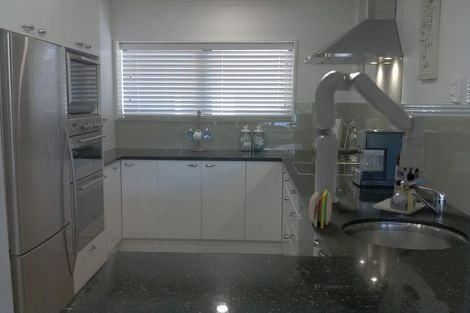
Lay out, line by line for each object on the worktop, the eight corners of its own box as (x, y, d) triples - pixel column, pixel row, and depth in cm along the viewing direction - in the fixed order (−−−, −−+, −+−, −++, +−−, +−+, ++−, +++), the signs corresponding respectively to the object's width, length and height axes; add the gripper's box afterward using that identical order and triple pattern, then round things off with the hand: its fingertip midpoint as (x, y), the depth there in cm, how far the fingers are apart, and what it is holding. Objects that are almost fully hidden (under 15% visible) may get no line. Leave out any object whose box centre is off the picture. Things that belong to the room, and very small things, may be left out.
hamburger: (310, 218, 171) (312, 188, 170) (331, 220, 169) (333, 190, 167) (306, 226, 160) (307, 194, 158) (329, 228, 157) (330, 196, 156)
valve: (409, 214, 180) (411, 191, 179) (372, 207, 190) (373, 186, 189) (424, 206, 195) (426, 185, 194) (389, 200, 206) (390, 180, 204)
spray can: (391, 194, 220) (394, 155, 218) (397, 192, 225) (400, 154, 223) (404, 196, 216) (407, 156, 213) (410, 194, 221) (413, 155, 218)
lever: (406, 186, 188) (407, 183, 188) (399, 185, 190) (399, 181, 190) (423, 182, 198) (424, 179, 198) (416, 181, 201) (416, 178, 201)
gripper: (394, 141, 199) (391, 181, 201) (429, 144, 190) (425, 185, 192) (398, 140, 205) (395, 179, 207) (432, 143, 196) (429, 183, 199)
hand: (410, 182), depth 200 cm, fingers closed
